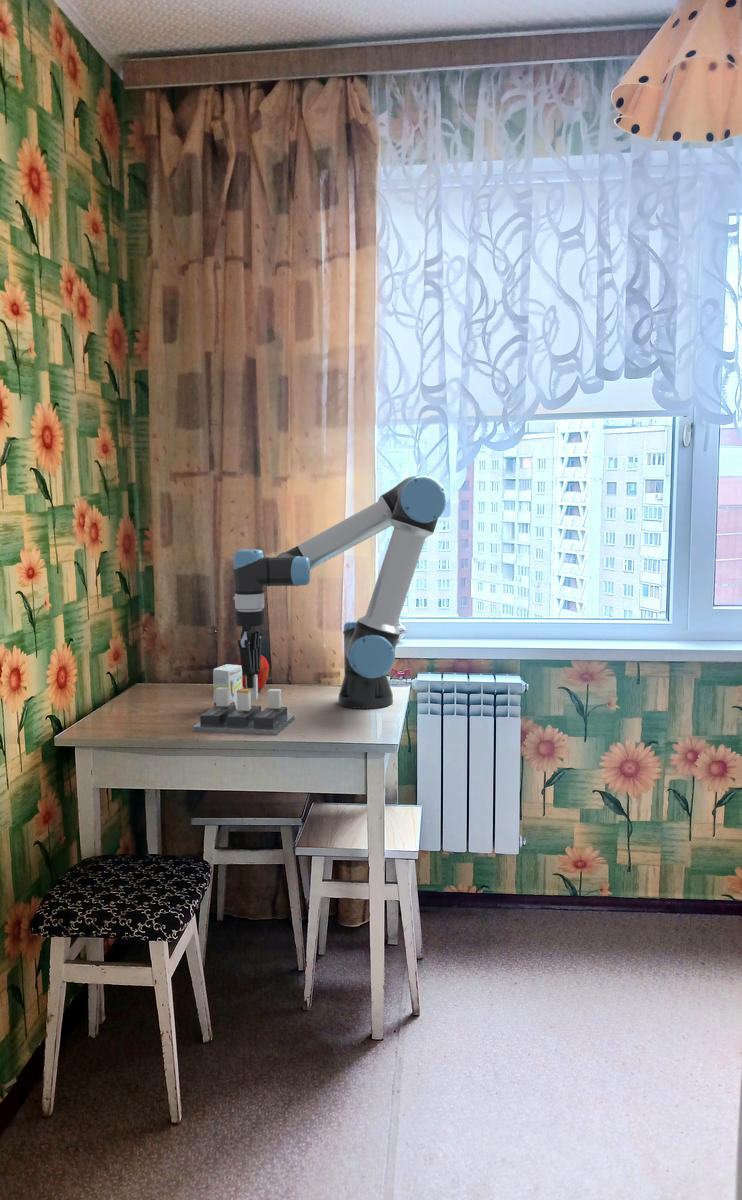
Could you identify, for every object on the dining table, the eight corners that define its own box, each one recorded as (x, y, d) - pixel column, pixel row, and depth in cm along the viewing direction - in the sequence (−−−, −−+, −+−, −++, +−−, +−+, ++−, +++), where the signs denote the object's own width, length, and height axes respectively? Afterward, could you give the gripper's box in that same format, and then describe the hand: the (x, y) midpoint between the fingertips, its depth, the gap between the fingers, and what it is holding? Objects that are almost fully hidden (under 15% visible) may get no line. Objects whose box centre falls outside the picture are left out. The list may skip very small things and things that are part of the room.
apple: (233, 694, 268) (232, 653, 266) (243, 687, 276) (242, 648, 275) (264, 695, 266) (263, 654, 264) (273, 688, 275) (272, 649, 273)
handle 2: (281, 706, 235) (281, 689, 234) (279, 708, 233) (278, 691, 232) (270, 706, 235) (269, 688, 235) (268, 707, 233) (267, 690, 233)
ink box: (229, 714, 244) (228, 670, 243) (213, 712, 246) (211, 669, 244) (244, 706, 252) (242, 664, 251) (228, 705, 254) (226, 663, 253)
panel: (294, 719, 238) (294, 705, 237) (277, 734, 223) (276, 719, 223) (214, 716, 242) (214, 702, 242) (192, 731, 227) (192, 716, 227)
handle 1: (229, 704, 237) (229, 687, 237) (227, 706, 236) (226, 689, 235) (219, 704, 238) (218, 687, 238) (216, 706, 236) (215, 688, 236)
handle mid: (251, 708, 233) (250, 689, 232) (248, 710, 231) (247, 690, 230) (239, 708, 233) (239, 688, 233) (237, 710, 231) (236, 690, 231)
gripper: (244, 606, 242) (246, 693, 245) (226, 612, 230) (229, 704, 233) (271, 606, 241) (273, 694, 244) (255, 613, 228) (257, 705, 231)
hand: (252, 699), depth 238 cm, fingers closed
